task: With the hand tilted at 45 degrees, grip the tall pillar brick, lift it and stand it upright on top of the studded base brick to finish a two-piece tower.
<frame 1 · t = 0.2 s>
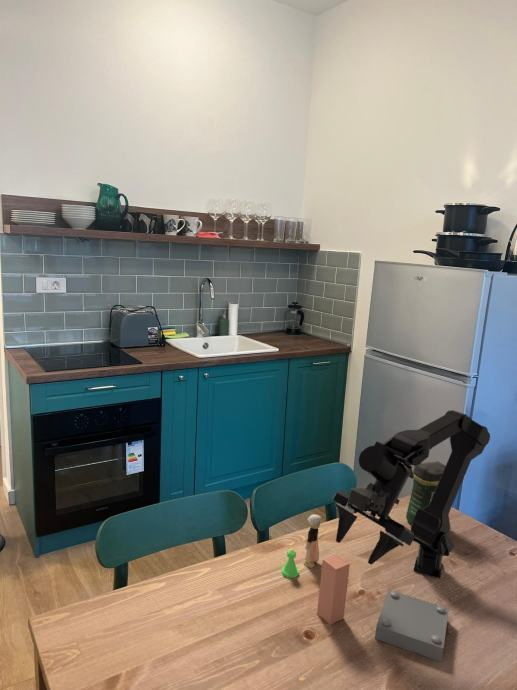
hand: (352, 552, 114), 14 cm above the table, tool tilted 35°, fingers open, 9 cm apart
pillar brick: (330, 615, 115), on the table
grandmother figurine: (310, 561, 134), on the table
base brick: (412, 629, 113), on the table
coffee jar: (423, 523, 157), on the table
game piece: (289, 573, 129), on the table
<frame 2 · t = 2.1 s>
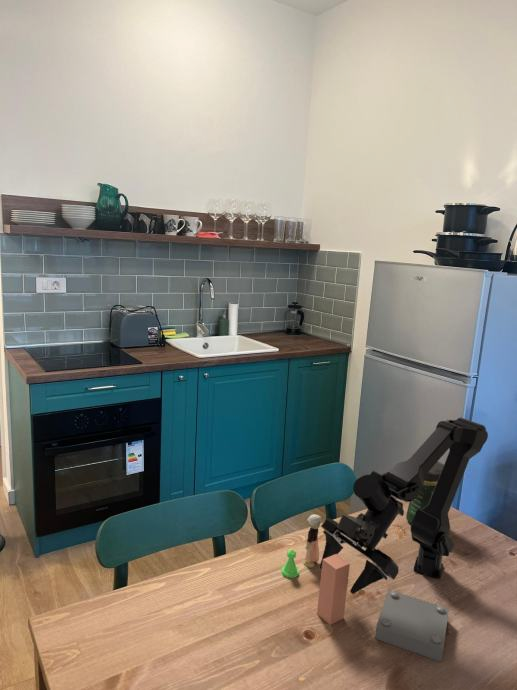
hand: (335, 580, 114), 8 cm above the table, tool tilted 45°, fingers open, 9 cm apart
nothing on the table moved.
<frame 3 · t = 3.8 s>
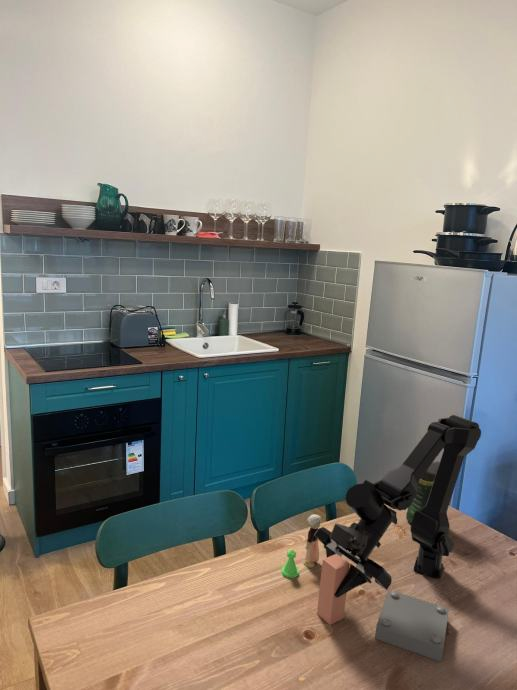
hand: (328, 590, 113), 7 cm above the table, tool tilted 45°, fingers closed on pillar brick, 4 cm apart
pillar brick: (330, 615, 115), on the table, touching gripper
everything else where it was.
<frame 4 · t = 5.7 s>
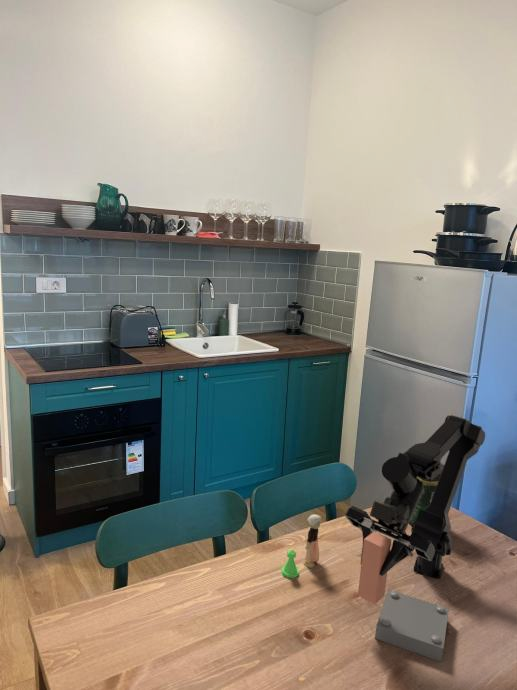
hand: (371, 570, 109), 14 cm above the table, tool tilted 45°, fingers closed on pillar brick, 4 cm apart
pillar brick: (371, 595, 112), point 7 cm above the table, touching gripper
everything else where it was.
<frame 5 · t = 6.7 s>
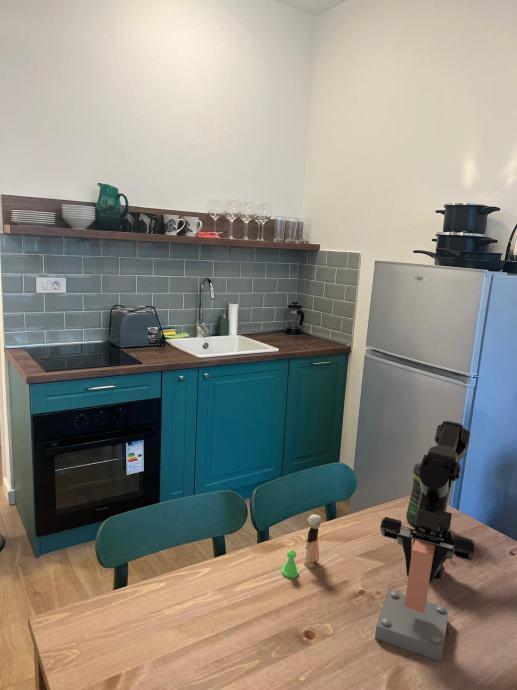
hand: (418, 579, 109), 13 cm above the table, tool tilted 45°, fingers closed on pillar brick, 4 cm apart
pillar brick: (415, 603, 112), point 6 cm above the table, touching gripper
everything else where it was.
when the fingers open (11 cm above the table, at t = 7.7 s): pillar brick drops 1 cm, resting on base brick.
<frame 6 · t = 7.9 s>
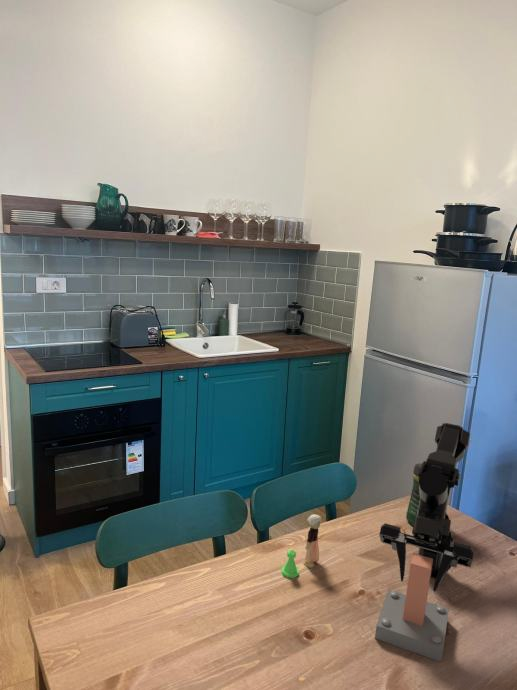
hand: (417, 586, 109), 11 cm above the table, tool tilted 45°, fingers open, 6 cm apart
pillar brick: (413, 616, 112), point 3 cm above the table, touching base brick
everything else where it was.
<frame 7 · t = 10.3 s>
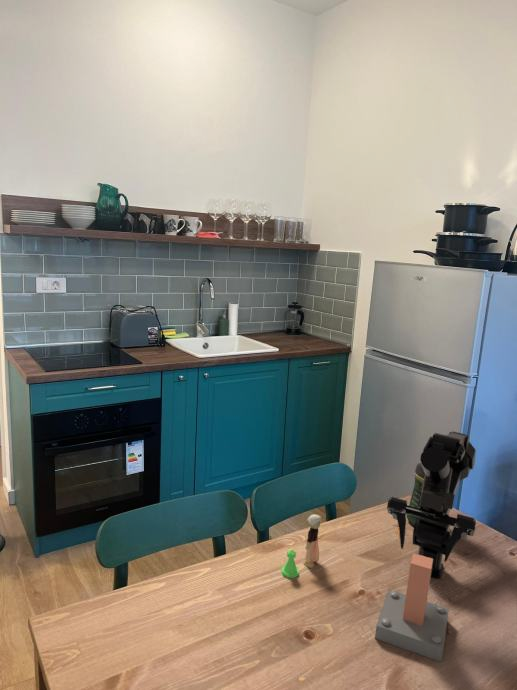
hand: (423, 554, 117), 13 cm above the table, tool tilted 40°, fingers open, 9 cm apart
nothing on the table moved.
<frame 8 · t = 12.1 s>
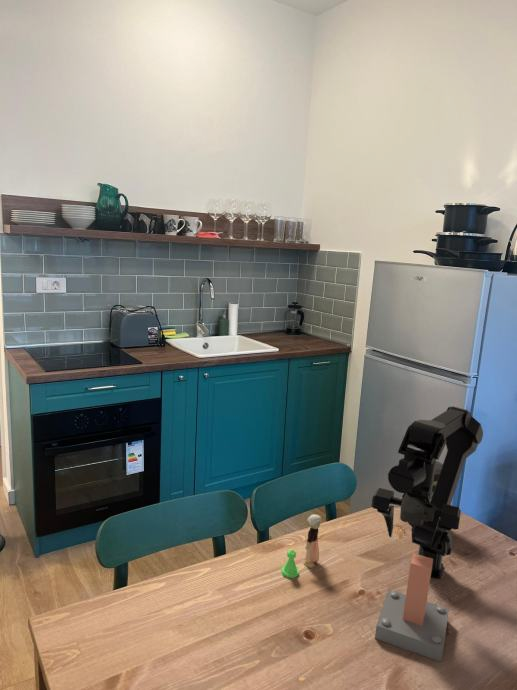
hand: (410, 542, 122), 13 cm above the table, tool pointing down, fingers open, 9 cm apart
nothing on the table moved.
at the end: pillar brick 0.0 cm off-centre on the base brick, point 3.0 cm above the base brick's base; pillar brick tilted 0°; the gripper is holding nothing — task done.
